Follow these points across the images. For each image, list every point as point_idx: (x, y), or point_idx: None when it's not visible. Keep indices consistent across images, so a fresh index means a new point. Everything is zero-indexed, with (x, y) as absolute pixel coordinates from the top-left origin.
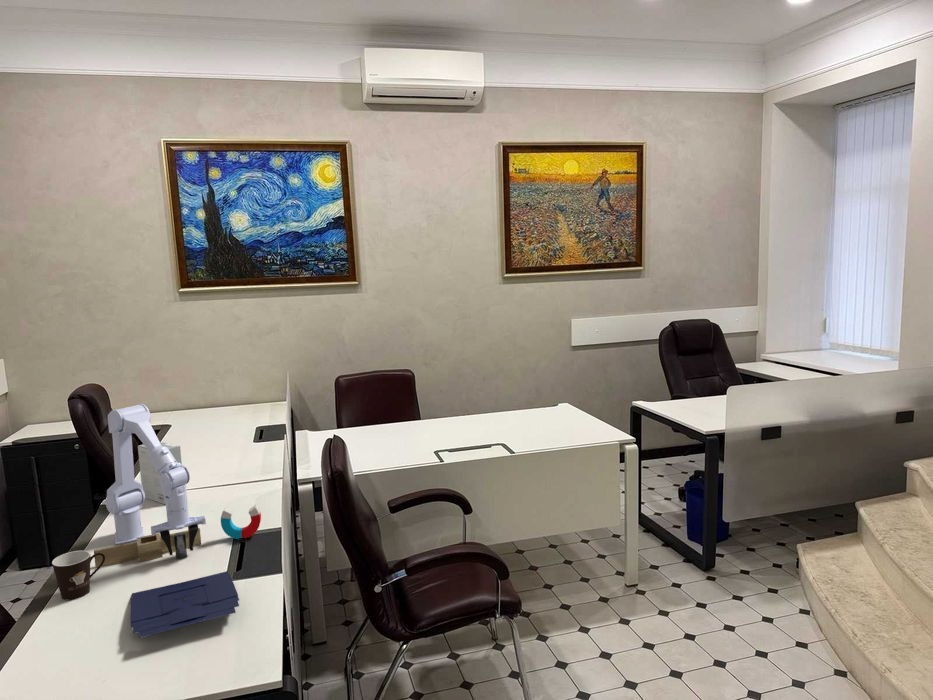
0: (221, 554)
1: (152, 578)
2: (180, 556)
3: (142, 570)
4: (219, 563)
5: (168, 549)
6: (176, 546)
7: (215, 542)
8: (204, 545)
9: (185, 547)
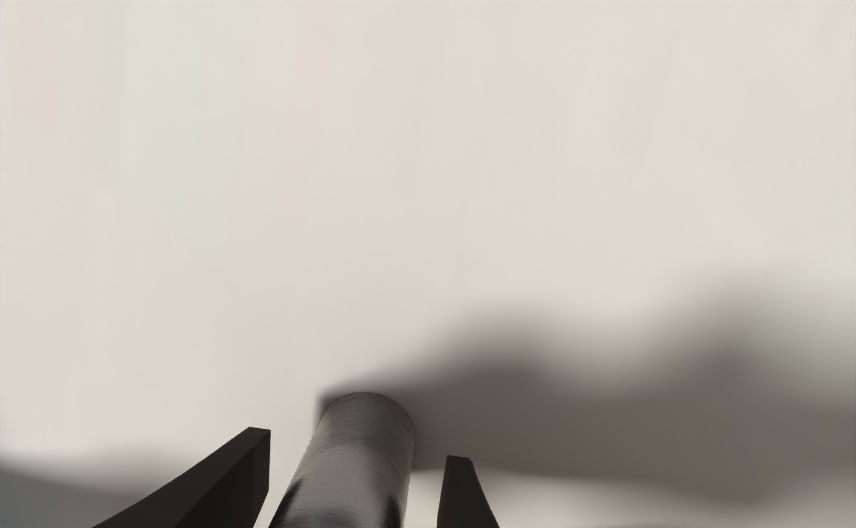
0: (23, 248)
1: (726, 151)
2: (378, 411)
3: (734, 392)
4: (50, 42)
5: (490, 511)
6: (388, 520)
7: (66, 513)
8: None
9: (296, 477)
